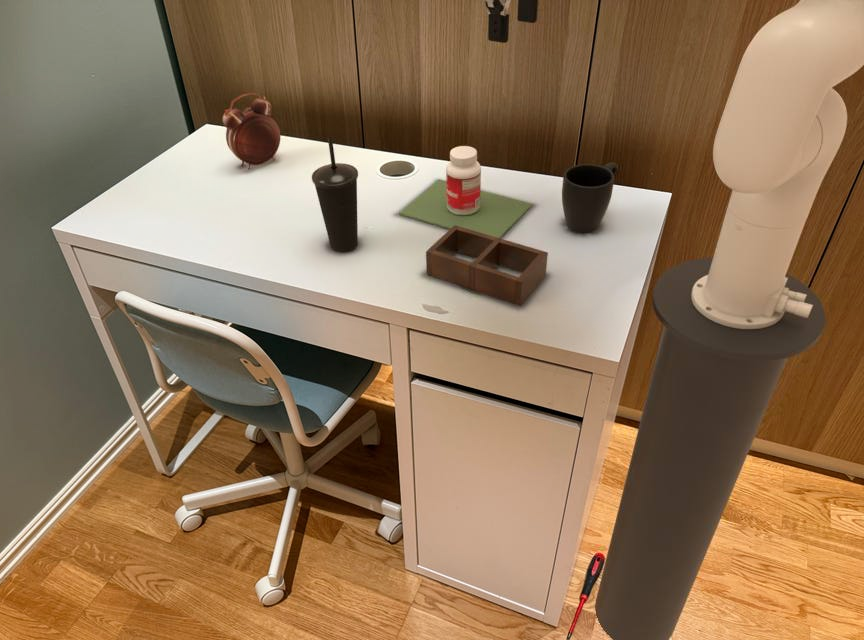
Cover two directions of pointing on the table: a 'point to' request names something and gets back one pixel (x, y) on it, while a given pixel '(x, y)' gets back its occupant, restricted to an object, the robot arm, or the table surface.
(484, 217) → the mat
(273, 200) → the table surface
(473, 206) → the pill bottle
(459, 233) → the wooden compartment box
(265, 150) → the alarm clock
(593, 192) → the mug
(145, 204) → the table surface
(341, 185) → the drinking cup
